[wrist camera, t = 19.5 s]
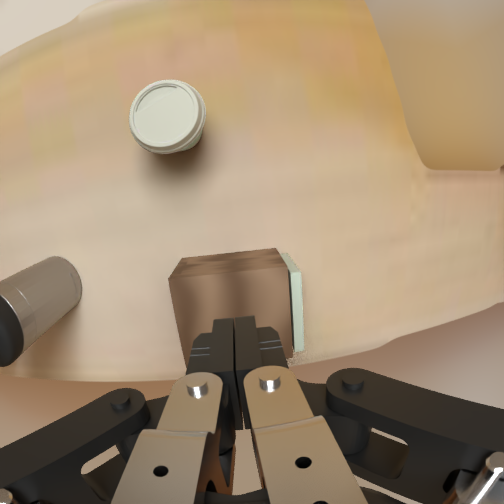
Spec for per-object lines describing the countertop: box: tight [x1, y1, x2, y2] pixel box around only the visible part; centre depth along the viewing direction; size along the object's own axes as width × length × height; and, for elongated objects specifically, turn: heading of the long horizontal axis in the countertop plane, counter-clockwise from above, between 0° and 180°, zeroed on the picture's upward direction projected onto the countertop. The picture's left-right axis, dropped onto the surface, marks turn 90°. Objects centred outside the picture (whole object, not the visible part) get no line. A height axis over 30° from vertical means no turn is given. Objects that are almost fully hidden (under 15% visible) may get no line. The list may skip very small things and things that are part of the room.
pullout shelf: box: [280, 253, 304, 352], centre depth 40 cm, size 14×10×9 cm
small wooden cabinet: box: [168, 248, 293, 368], centre depth 41 cm, size 14×12×10 cm
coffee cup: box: [129, 80, 206, 154], centre depth 34 cm, size 8×8×12 cm
